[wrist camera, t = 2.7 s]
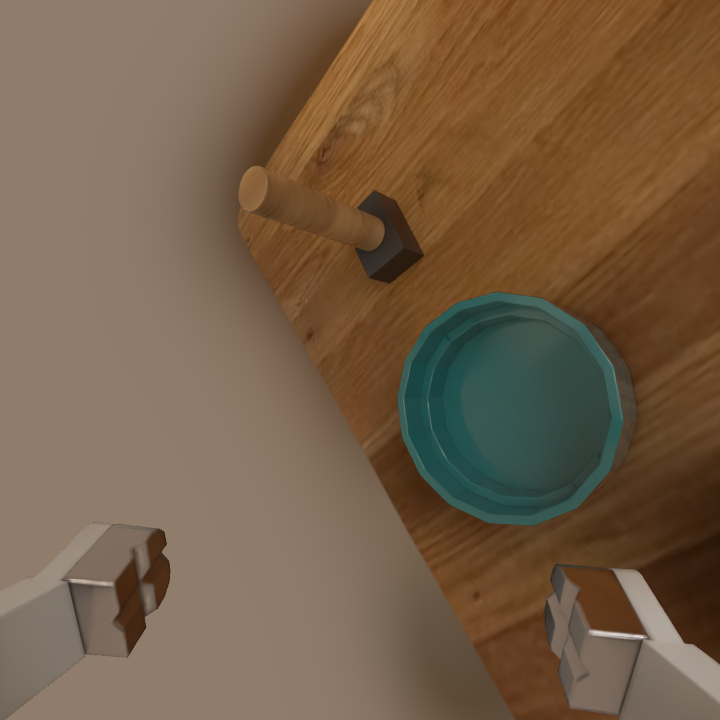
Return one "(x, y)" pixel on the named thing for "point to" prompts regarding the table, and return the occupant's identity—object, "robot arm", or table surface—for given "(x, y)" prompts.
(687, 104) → the table surface
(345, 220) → the wooden rod on block
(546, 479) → the bowl
